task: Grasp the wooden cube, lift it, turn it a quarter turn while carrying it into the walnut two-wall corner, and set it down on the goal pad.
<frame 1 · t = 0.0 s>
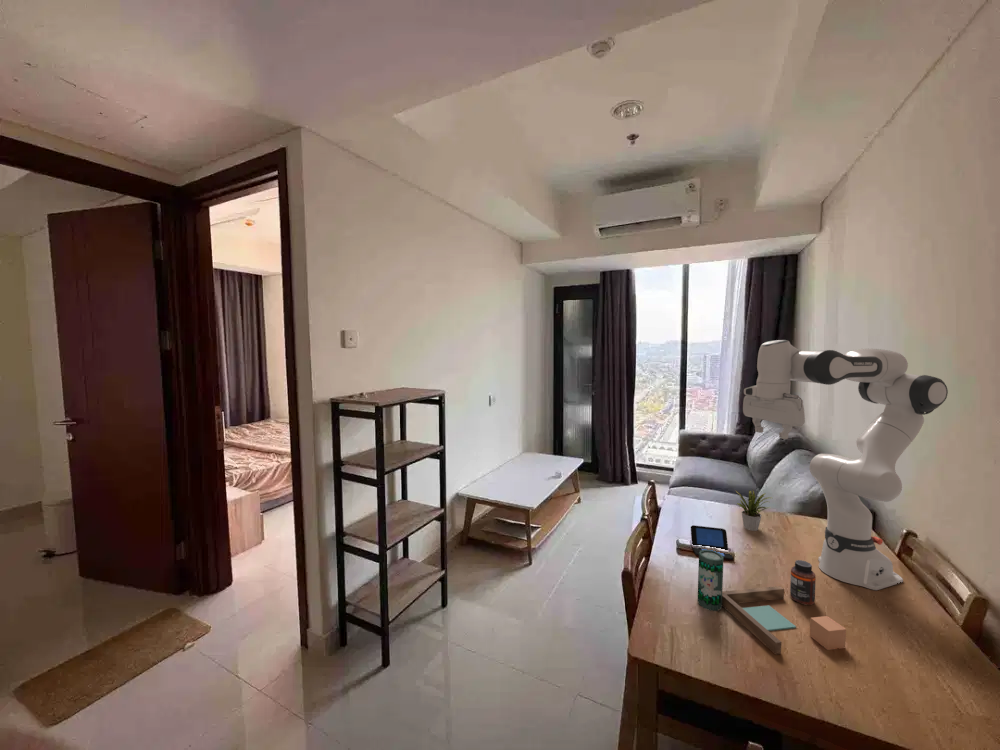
hand: (770, 435, 125), 48 cm above the table, fingers open, 8 cm apart
handheld game console: (710, 552, 148), on the table
can: (709, 604, 117), on the table
supplement bottle: (801, 600, 119), on the table
goal pad: (767, 618, 111), on the table
arena: (721, 602, 117), on the table
cube: (826, 641, 102), on the table
house plant: (754, 529, 166), on the table
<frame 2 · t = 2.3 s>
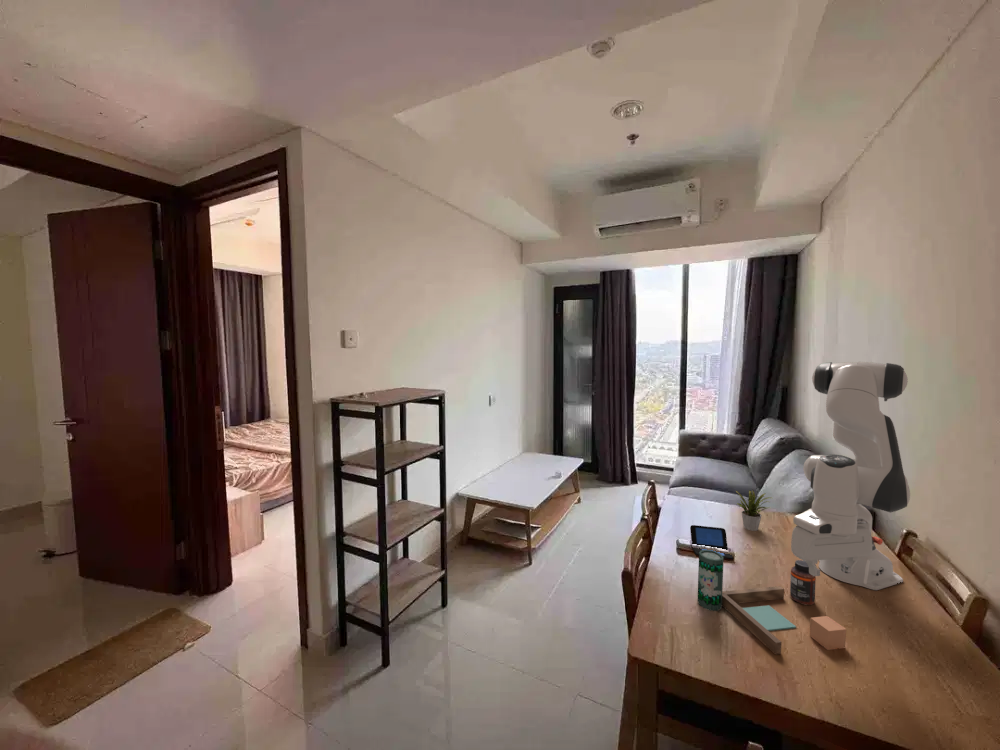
hand: (830, 573, 101), 18 cm above the table, fingers open, 8 cm apart
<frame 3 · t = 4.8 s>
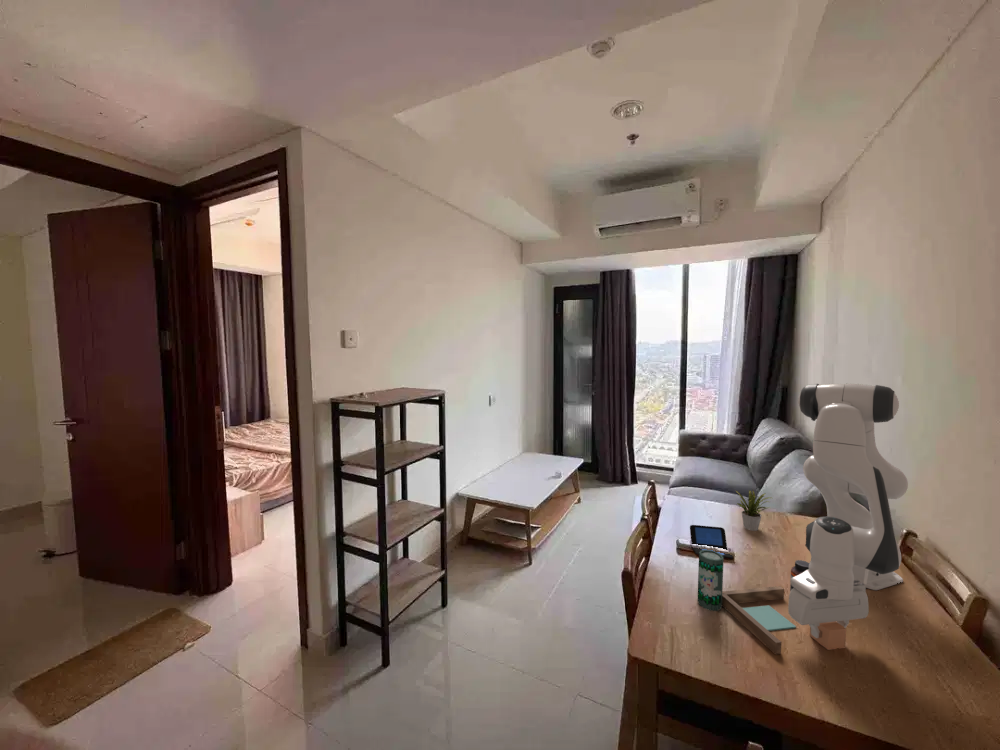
hand: (827, 635, 102), 2 cm above the table, fingers closed on cube, 5 cm apart
cube: (827, 641, 102), on the table, touching gripper
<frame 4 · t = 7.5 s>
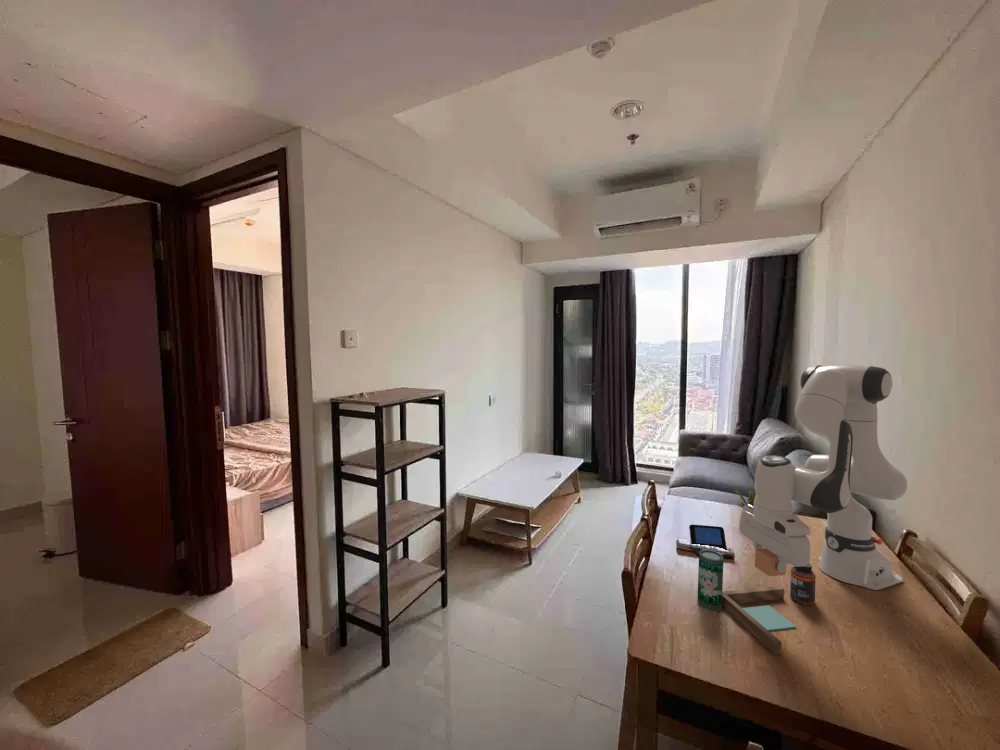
hand: (770, 564, 110), 16 cm above the table, fingers closed on cube, 5 cm apart
cube: (769, 570, 110), point 14 cm above the table, touching gripper
when the fingers open (4 cm above the table, at t = 10.3 s): cube drops 1 cm, resting on goal pad.
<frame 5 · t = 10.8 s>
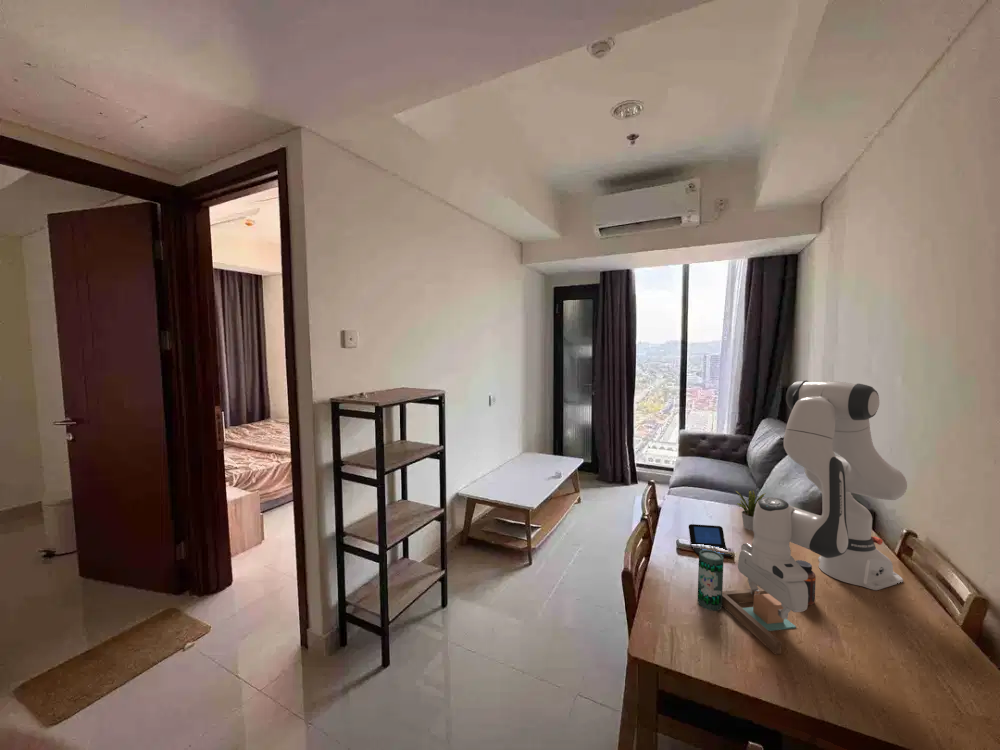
hand: (768, 606, 110), 4 cm above the table, fingers open, 8 cm apart
cube: (768, 616, 111), resting on goal pad
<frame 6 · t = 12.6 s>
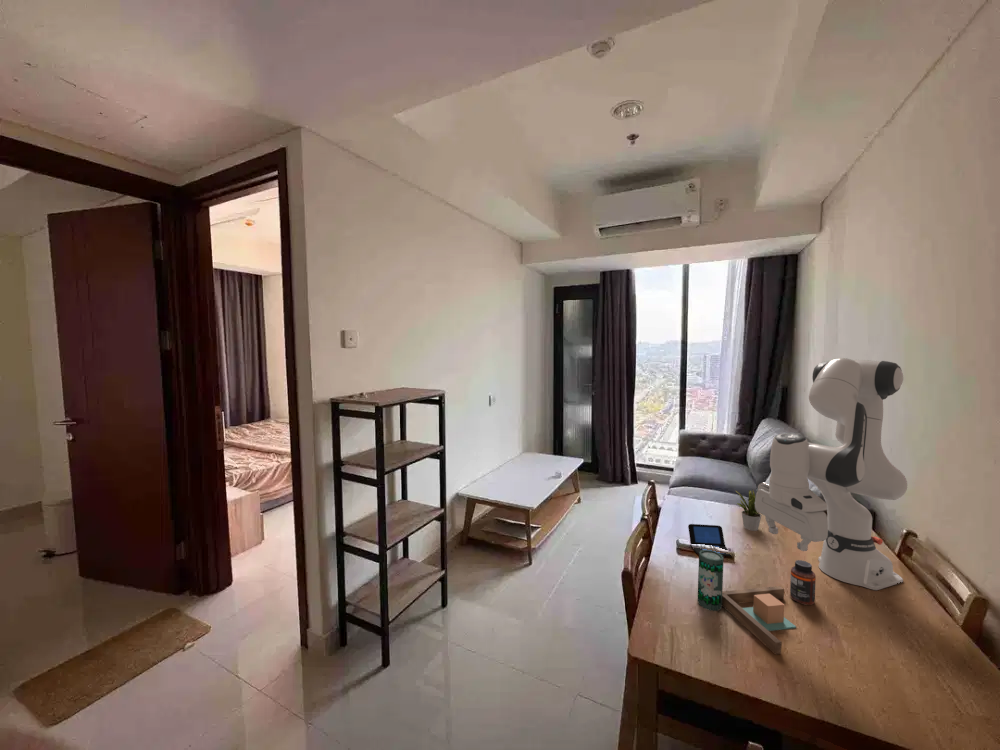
hand: (787, 541, 110), 22 cm above the table, fingers open, 8 cm apart
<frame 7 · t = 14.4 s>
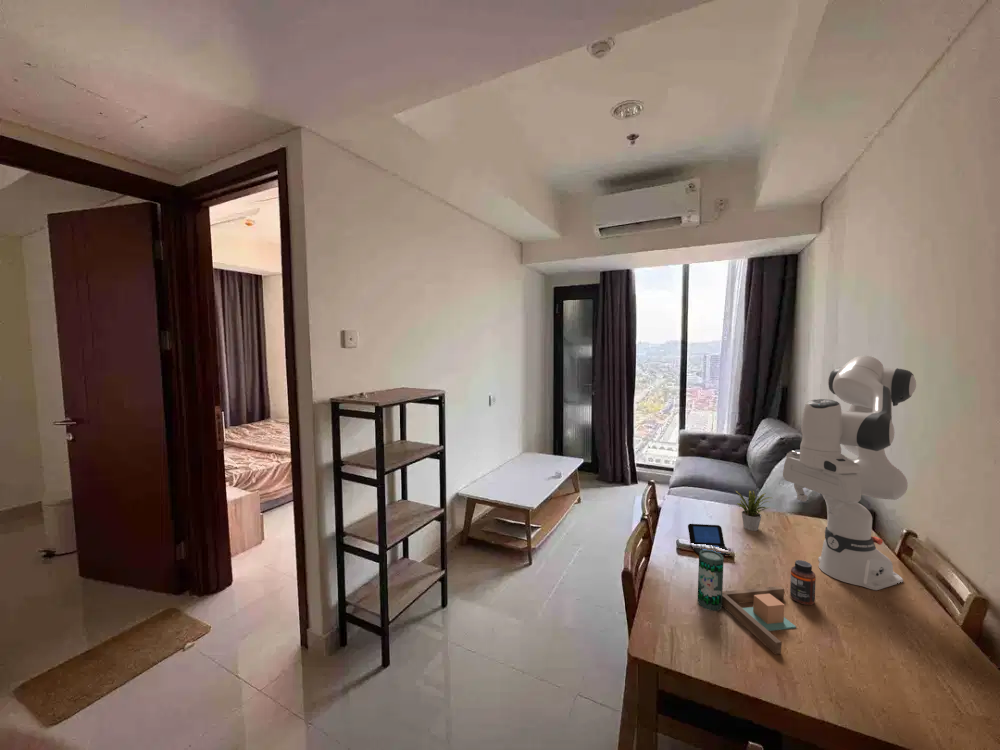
hand: (817, 506, 111), 31 cm above the table, fingers open, 8 cm apart
at the end: cube 0.1 cm from the goal pad (horizontally); cube tilted 0°; cube resting on goal pad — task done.
